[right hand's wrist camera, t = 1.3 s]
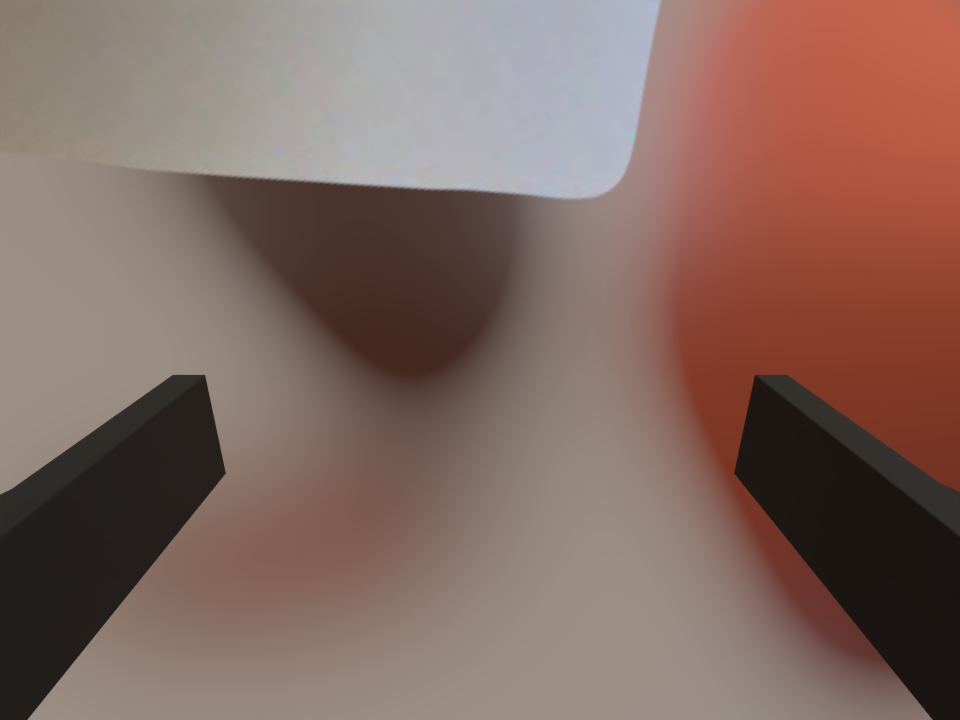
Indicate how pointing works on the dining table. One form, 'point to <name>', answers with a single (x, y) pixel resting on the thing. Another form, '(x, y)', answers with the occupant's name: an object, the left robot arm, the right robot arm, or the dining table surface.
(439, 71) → the dining table surface
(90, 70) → the dining table surface
